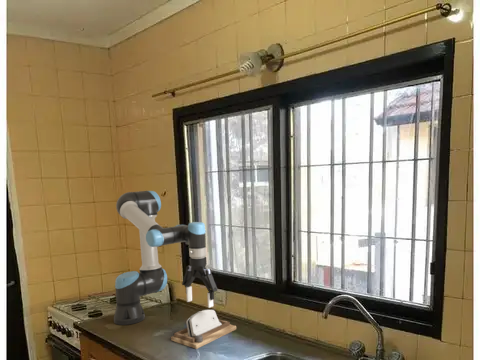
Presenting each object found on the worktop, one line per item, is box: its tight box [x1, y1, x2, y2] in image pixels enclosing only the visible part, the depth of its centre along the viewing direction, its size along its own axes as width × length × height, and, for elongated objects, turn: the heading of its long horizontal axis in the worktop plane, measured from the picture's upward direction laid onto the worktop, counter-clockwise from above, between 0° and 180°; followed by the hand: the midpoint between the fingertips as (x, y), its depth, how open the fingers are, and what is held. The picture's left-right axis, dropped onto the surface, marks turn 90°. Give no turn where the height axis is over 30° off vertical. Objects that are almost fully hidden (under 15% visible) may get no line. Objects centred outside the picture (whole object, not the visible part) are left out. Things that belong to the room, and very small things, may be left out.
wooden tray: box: [170, 318, 237, 350], centre depth 181 cm, size 16×25×4 cm, turn 140°
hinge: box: [185, 309, 222, 337], centre depth 181 cm, size 17×5×10 cm, turn 140°
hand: (199, 303), depth 182 cm, fingers open, 13 cm apart
